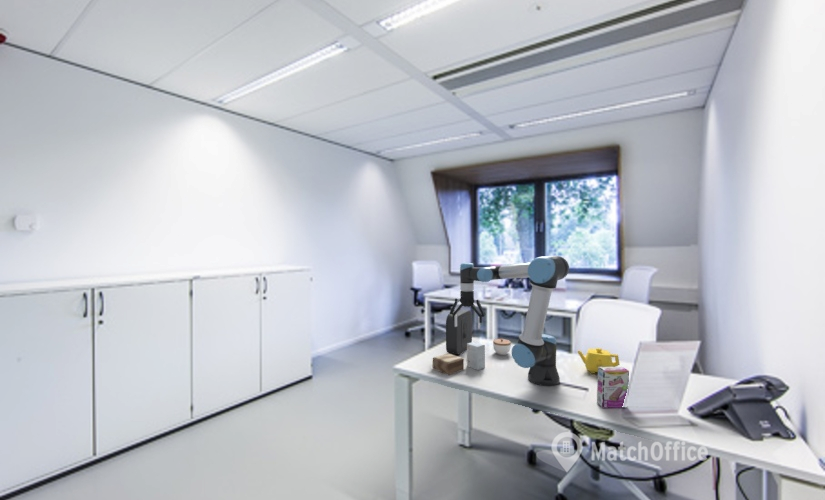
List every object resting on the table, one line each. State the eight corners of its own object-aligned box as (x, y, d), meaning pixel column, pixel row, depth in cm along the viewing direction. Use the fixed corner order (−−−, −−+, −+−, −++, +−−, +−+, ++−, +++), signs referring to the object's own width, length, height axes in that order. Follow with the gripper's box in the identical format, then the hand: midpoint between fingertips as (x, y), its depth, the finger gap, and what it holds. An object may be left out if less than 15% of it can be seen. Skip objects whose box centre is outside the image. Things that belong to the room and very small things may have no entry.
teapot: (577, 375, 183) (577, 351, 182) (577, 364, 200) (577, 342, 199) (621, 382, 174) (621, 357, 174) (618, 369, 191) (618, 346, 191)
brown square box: (463, 369, 192) (463, 357, 192) (448, 375, 185) (448, 363, 184) (447, 363, 201) (447, 352, 201) (432, 368, 194) (432, 357, 193)
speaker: (462, 344, 237) (462, 307, 236) (474, 346, 233) (474, 309, 232) (445, 355, 216) (445, 315, 215) (458, 357, 211) (458, 316, 210)
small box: (485, 367, 195) (485, 344, 194) (477, 370, 191) (477, 346, 190) (474, 363, 201) (474, 341, 201) (466, 366, 197) (466, 343, 197)
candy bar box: (603, 409, 147) (603, 370, 147) (596, 403, 152) (596, 366, 152) (628, 408, 148) (629, 370, 147) (621, 403, 153) (622, 366, 152)
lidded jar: (512, 352, 220) (512, 337, 220) (507, 357, 211) (507, 342, 211) (496, 349, 226) (496, 335, 225) (490, 354, 217) (490, 339, 216)
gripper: (490, 290, 197) (490, 327, 197) (448, 288, 207) (448, 324, 208) (487, 292, 190) (487, 331, 191) (444, 290, 200) (444, 326, 201)
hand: (467, 327), depth 199 cm, fingers open, 13 cm apart
